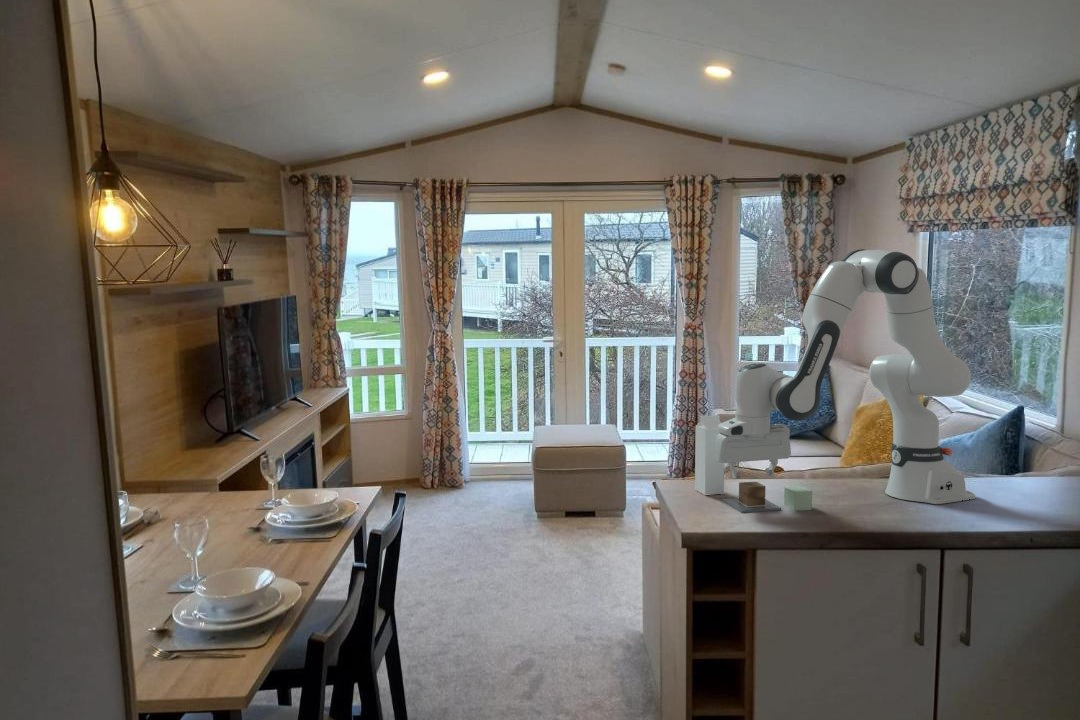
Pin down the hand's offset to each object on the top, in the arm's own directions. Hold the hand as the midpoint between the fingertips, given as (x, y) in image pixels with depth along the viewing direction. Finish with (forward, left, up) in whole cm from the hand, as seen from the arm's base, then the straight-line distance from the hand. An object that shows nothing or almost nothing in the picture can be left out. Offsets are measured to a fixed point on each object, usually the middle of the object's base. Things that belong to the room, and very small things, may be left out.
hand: (752, 476), depth 192 cm
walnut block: (+1, +1, -7) cm, 7 cm away
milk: (+6, -14, -8) cm, 17 cm away
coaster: (+1, +1, -8) cm, 8 cm away
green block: (-10, +5, -8) cm, 14 cm away
